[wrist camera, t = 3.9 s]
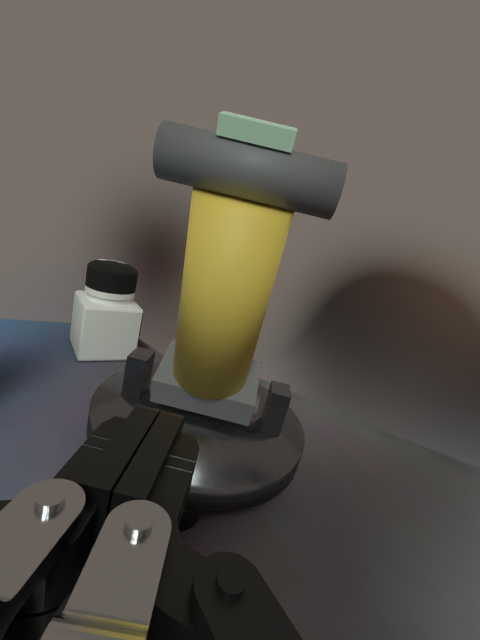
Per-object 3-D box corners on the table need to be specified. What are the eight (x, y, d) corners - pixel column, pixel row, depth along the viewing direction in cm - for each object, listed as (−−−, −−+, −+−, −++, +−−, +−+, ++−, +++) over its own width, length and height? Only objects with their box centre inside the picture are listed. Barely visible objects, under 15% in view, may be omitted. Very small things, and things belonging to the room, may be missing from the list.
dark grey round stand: (285, 424, 40) (305, 359, 38) (297, 572, 23) (335, 468, 21) (132, 385, 41) (144, 318, 38) (30, 502, 23) (40, 392, 21)
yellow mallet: (264, 389, 33) (348, 136, 21) (256, 443, 28) (361, 152, 16) (160, 363, 33) (182, 96, 21) (135, 412, 28) (143, 101, 16)
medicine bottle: (136, 361, 47) (150, 272, 44) (77, 362, 43) (89, 265, 39) (122, 340, 52) (134, 260, 49) (69, 339, 48) (78, 252, 45)
